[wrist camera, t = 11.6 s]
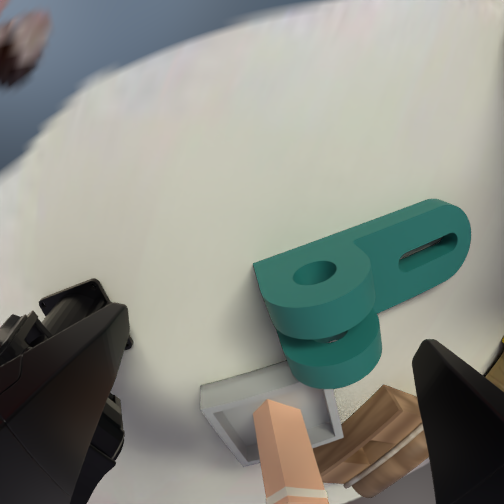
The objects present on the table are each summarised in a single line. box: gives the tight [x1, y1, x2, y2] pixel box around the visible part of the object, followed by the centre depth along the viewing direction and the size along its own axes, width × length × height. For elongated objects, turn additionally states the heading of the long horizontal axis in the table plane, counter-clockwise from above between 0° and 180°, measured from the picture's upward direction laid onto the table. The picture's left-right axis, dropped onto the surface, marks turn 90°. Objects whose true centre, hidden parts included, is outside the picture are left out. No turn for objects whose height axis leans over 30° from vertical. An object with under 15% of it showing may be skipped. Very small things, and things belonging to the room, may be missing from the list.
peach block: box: [253, 399, 329, 504], centre depth 22 cm, size 4×2×11 cm, turn 57°
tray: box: [200, 361, 344, 467], centre depth 27 cm, size 11×11×3 cm
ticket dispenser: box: [313, 385, 429, 498], centre depth 29 cm, size 12×14×7 cm
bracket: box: [253, 199, 471, 389], centre depth 20 cm, size 18×7×8 cm, turn 109°
